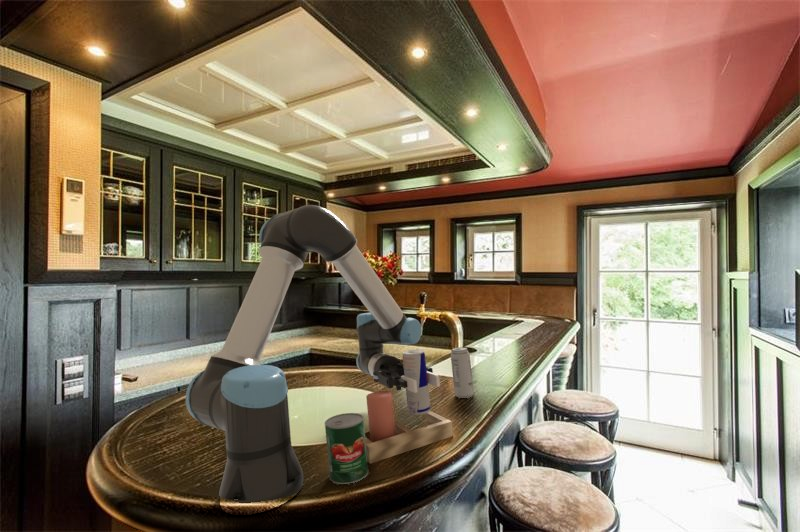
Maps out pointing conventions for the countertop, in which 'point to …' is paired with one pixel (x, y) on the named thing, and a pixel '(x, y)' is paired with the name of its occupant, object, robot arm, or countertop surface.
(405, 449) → the holder
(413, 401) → the beverage can
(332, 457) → the canned tomato
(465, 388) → the energy drink can
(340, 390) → the countertop surface
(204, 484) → the countertop surface
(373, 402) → the plug
